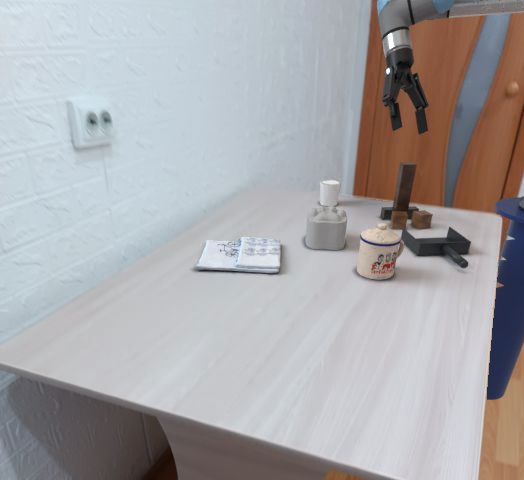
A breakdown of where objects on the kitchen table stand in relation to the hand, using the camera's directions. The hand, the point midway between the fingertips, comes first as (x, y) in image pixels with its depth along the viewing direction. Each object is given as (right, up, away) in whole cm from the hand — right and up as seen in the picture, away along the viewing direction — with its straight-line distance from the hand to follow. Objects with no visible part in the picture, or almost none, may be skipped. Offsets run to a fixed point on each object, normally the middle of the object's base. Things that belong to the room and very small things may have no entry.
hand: (410, 130), depth 136 cm
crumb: (+4, -26, +5) cm, 27 cm away
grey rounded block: (-25, -33, -6) cm, 42 cm away
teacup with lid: (-14, -44, -23) cm, 52 cm away
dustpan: (+4, -38, -13) cm, 41 cm away
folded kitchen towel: (-48, -39, -17) cm, 64 cm away
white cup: (-20, -14, +22) cm, 33 cm away
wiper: (0, -22, +11) cm, 24 cm away
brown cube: (-3, -26, +4) cm, 27 cm away
